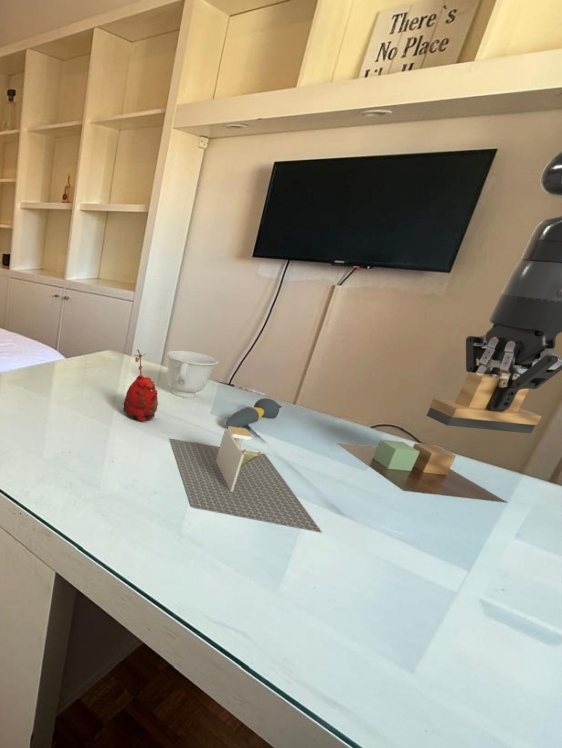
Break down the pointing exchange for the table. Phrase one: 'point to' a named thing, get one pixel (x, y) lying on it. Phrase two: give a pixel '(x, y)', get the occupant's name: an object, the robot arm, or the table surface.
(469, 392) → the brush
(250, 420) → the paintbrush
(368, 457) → the brown flat mat
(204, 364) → the teacup
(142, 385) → the red clay folk toy
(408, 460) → the sage cube
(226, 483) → the model
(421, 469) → the wooden cube
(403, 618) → the table surface
